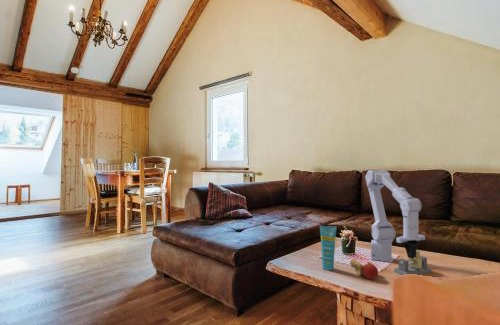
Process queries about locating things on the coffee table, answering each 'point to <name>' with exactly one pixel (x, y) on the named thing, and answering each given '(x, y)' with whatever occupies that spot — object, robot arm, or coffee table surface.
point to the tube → (328, 246)
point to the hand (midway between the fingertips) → (410, 257)
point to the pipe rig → (411, 270)
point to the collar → (416, 260)
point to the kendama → (365, 269)
